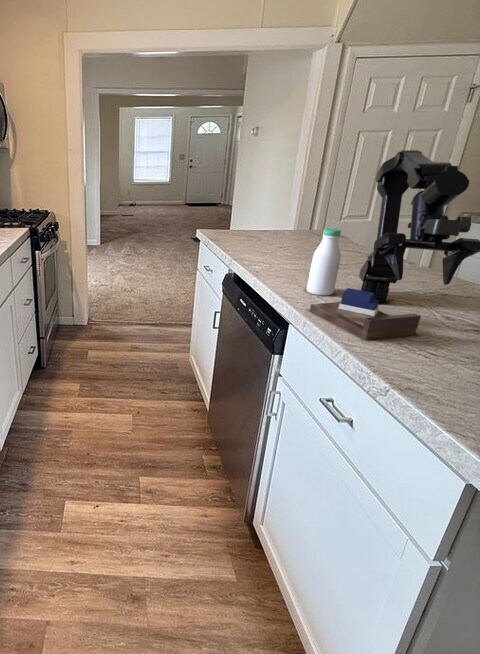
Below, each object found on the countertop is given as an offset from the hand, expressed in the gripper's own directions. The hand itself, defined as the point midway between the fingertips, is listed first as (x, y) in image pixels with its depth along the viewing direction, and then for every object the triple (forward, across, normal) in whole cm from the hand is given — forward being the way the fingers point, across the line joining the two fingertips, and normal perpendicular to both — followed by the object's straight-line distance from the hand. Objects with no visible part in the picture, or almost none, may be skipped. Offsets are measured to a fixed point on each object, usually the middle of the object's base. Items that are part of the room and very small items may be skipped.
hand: (422, 282), depth 89 cm
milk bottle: (-5, -9, +38) cm, 40 cm away
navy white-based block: (+4, -5, +19) cm, 20 cm away
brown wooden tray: (+8, -6, +17) cm, 19 cm away
